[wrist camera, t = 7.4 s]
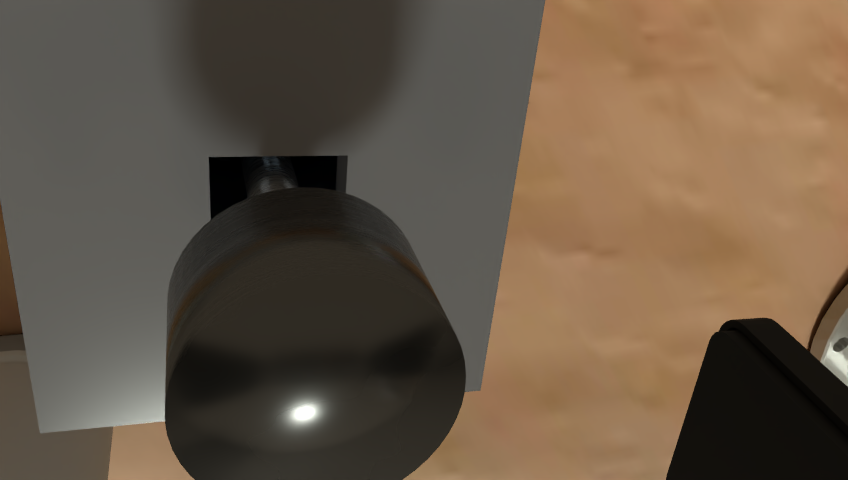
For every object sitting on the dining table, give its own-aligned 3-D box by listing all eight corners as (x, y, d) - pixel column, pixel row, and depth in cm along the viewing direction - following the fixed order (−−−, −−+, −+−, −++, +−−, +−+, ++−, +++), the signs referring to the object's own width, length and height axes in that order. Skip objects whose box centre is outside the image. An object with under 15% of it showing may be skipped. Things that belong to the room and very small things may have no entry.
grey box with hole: (384, -110, 24) (549, -27, 13) (365, 160, 29) (480, 390, 18) (66, -136, 22) (-45, -61, 11) (98, 164, 26) (39, 433, 15)
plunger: (344, -36, 22) (564, 198, 9) (335, 151, 25) (498, 528, 12) (130, -48, 21) (54, 213, 8) (145, 153, 23) (104, 588, 11)
